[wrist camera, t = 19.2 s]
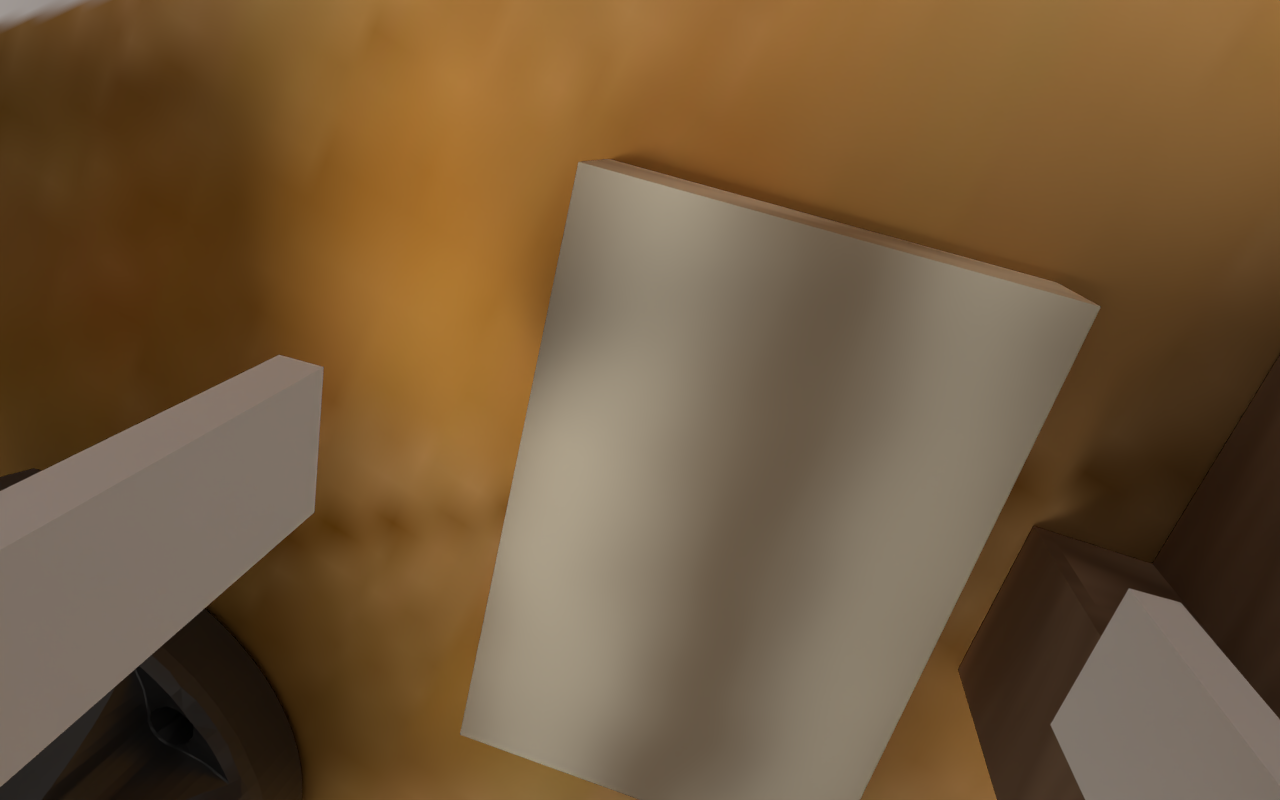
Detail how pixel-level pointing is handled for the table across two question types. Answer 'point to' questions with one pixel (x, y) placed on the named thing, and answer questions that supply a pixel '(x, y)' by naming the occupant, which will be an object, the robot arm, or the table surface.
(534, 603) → the lid
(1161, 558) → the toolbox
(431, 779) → the table surface
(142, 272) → the table surface
